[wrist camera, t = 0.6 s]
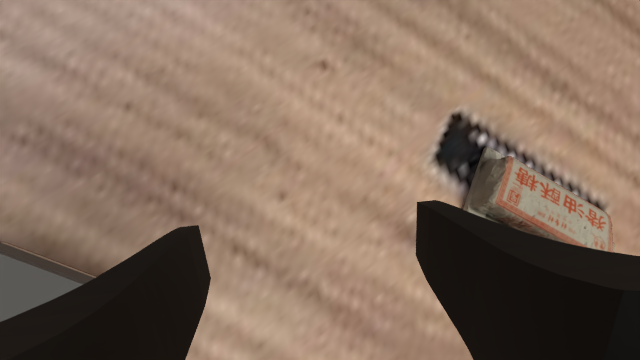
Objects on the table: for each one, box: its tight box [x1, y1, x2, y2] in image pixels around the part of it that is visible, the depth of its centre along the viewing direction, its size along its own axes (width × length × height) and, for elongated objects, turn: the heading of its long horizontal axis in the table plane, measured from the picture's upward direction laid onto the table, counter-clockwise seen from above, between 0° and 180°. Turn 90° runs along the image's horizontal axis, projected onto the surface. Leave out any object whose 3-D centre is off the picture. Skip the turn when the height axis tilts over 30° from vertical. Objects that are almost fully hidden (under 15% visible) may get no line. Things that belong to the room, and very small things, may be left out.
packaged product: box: [463, 147, 615, 252], centre depth 39 cm, size 18×5×10 cm
